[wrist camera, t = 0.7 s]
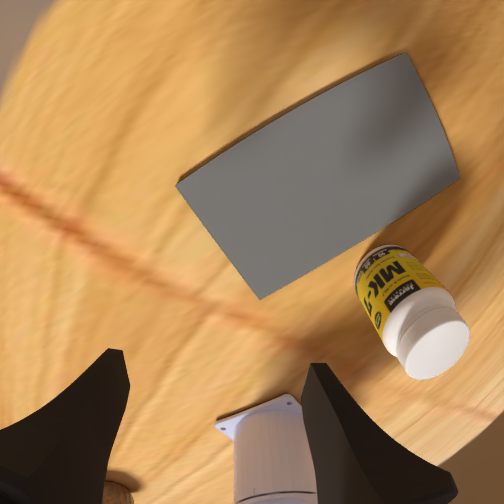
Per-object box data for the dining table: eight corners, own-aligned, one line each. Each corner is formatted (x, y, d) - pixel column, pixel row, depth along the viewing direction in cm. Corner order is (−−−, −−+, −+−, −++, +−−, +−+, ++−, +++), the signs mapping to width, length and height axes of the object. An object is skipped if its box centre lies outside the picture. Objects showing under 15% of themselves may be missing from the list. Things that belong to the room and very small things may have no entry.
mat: (456, 176, 18) (460, 178, 18) (259, 296, 21) (259, 300, 21) (402, 53, 15) (406, 52, 15) (176, 184, 18) (175, 185, 18)
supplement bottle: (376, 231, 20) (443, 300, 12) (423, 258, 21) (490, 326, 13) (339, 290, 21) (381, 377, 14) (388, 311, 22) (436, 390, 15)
